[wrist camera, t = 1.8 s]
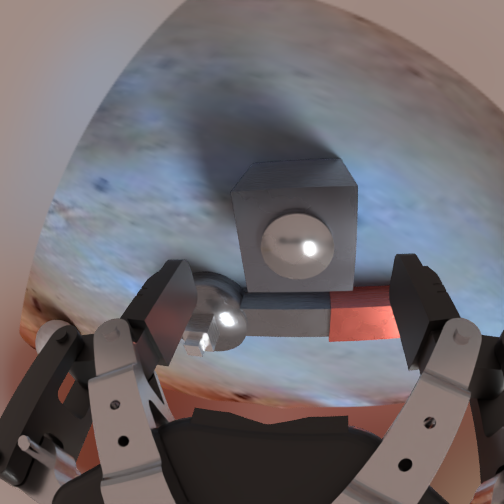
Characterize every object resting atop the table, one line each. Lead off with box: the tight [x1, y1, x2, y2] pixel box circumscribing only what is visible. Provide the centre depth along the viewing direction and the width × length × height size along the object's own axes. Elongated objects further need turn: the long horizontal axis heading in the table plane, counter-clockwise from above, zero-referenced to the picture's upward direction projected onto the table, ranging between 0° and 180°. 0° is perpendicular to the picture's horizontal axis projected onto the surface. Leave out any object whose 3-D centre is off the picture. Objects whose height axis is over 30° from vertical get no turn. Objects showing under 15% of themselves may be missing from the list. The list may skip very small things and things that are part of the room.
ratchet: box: [181, 272, 400, 357], centre depth 21 cm, size 20×7×6 cm, turn 98°
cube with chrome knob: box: [231, 158, 358, 292], centre depth 15 cm, size 6×6×6 cm
